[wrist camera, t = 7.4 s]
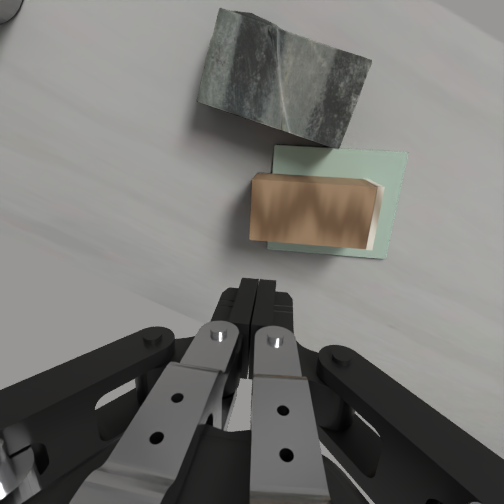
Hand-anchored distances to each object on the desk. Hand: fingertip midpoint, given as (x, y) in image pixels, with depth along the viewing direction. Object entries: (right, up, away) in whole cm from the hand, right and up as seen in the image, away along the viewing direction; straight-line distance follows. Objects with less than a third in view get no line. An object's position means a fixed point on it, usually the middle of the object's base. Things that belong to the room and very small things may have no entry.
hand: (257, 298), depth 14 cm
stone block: (+3, +20, +18) cm, 27 cm away
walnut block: (0, +7, +19) cm, 20 cm away
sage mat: (+9, +8, +22) cm, 25 cm away
